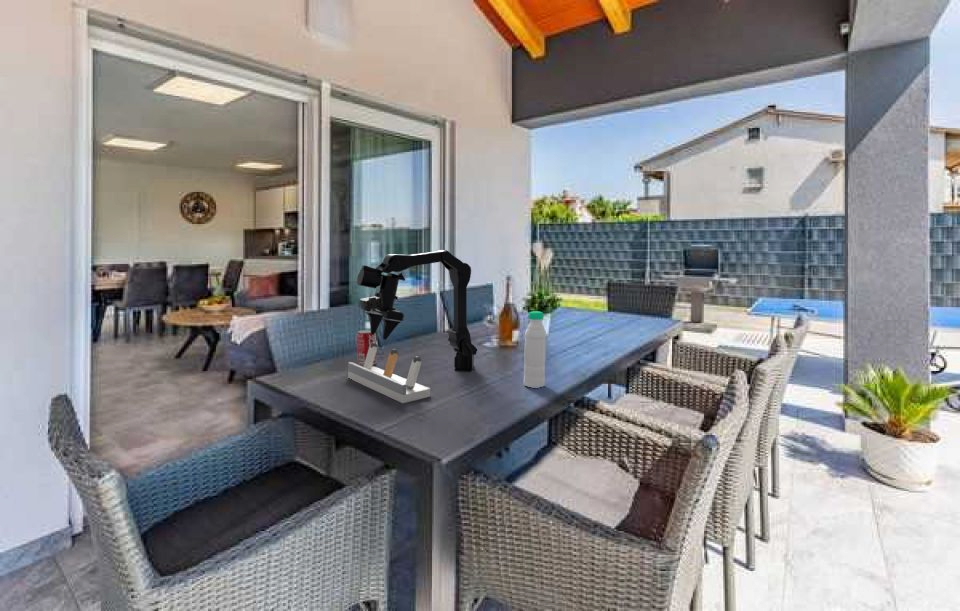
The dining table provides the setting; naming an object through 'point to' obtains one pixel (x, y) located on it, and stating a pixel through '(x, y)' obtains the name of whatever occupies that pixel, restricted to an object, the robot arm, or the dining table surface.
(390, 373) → the lever orange
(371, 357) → the cream lever
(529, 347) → the water bottle
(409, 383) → the cream lever
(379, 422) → the dining table surface
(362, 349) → the soda can
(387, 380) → the switch panel
